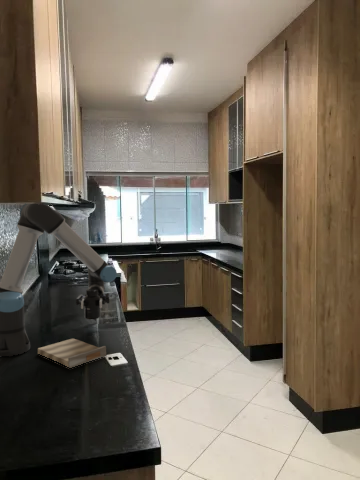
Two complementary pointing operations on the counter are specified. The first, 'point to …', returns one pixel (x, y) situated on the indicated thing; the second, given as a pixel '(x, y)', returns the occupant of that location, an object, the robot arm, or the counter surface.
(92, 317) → the supplement bottle
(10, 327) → the robot arm
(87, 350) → the shelf board
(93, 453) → the counter surface
